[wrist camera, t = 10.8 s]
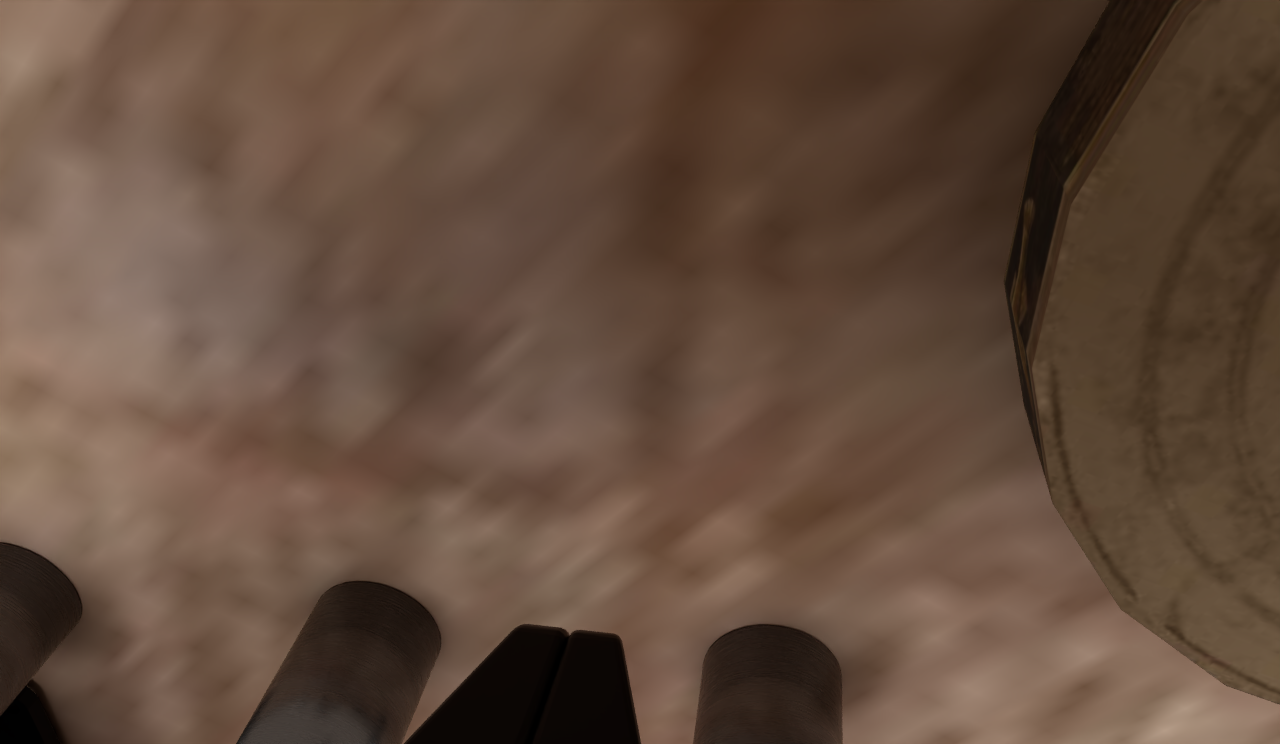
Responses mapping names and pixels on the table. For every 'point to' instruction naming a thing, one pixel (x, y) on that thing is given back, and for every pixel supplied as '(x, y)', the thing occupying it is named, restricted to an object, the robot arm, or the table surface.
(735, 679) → the grey metal cylinder set
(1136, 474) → the brown wooden disc
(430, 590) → the table surface
